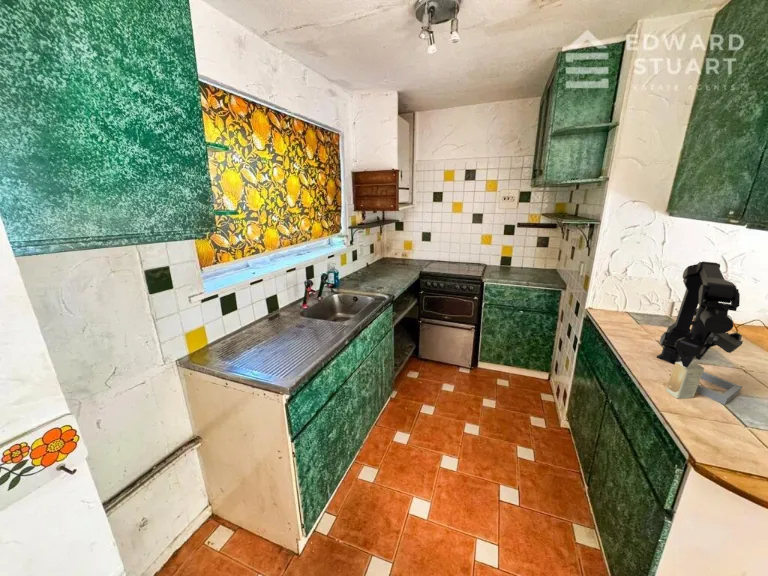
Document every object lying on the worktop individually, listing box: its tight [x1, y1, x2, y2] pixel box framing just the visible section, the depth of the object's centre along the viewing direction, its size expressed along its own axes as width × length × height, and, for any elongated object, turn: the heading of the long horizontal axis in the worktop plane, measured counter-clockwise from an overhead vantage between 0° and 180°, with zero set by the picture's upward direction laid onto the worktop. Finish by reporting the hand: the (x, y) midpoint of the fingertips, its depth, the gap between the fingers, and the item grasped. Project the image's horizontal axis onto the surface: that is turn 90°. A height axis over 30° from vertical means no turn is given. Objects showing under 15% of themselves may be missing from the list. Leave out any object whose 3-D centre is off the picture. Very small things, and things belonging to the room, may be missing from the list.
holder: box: [695, 371, 743, 405], centre depth 109 cm, size 13×13×2 cm
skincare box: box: [665, 360, 705, 400], centre depth 104 cm, size 6×4×12 cm
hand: (691, 362), depth 101 cm, fingers open, 9 cm apart
